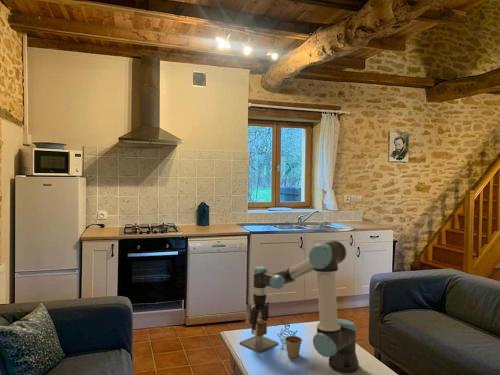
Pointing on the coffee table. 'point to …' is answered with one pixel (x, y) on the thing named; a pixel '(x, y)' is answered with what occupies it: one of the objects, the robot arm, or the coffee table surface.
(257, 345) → the post plate
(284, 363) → the coffee table surface
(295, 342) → the flower pot
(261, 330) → the knob
